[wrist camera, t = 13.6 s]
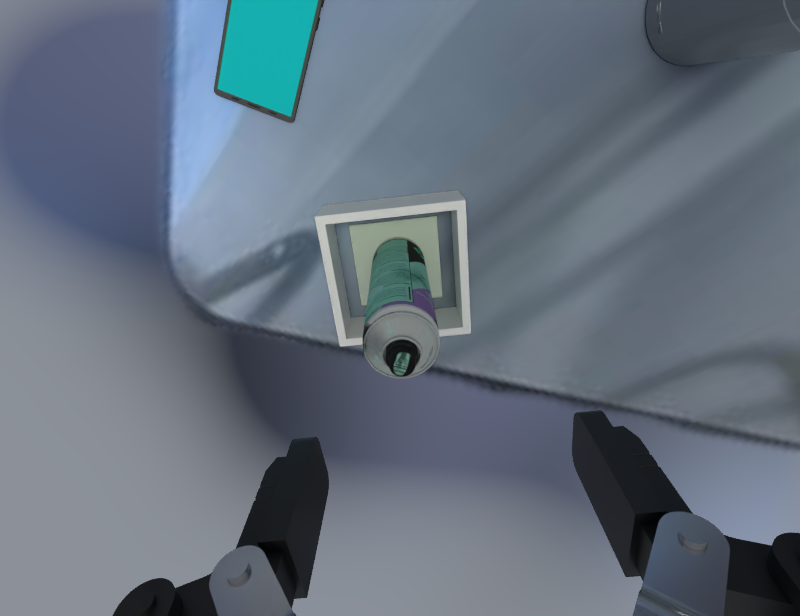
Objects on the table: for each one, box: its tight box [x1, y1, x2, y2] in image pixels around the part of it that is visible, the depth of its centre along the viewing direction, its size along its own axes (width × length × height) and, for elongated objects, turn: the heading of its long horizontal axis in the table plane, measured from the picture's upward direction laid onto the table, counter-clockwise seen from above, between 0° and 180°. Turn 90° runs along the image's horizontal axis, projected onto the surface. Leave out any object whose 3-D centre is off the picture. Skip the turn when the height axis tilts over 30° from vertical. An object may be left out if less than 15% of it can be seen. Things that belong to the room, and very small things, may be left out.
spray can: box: [363, 237, 440, 378], centre depth 36 cm, size 6×6×20 cm
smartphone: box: [214, 0, 324, 122], centre depth 36 cm, size 7×1×15 cm
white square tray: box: [315, 190, 471, 347], centre depth 43 cm, size 14×14×5 cm
